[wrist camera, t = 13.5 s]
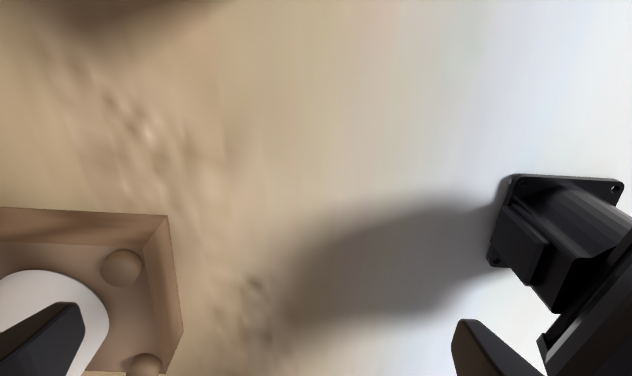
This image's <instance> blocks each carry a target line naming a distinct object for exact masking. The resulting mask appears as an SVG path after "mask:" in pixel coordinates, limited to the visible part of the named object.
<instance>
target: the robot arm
mask: <svg viewBox="0 0 632 376" xmlns="http://www.w3.org/2000/svg"><path fill="white" fill-rule="evenodd" d="M523 180H524V182H523V184H521V185H519V183H520V182H521V181H523ZM613 186H614V188H613V189H611V188H612V187H613ZM623 190H624V184H623V183H622V182H620V181H618V180H616V179H608V178H591V177H573V176H555V175H537V174H518V175H516V176H515V177H514V178H513V179H512V181H511V184H510V187H509V190H508V193H507V196H506V199H505V202H504V205H503V207H502V208H501V210H500V213H499V216H498V219H497V222H496V225H495V228H494V231H493V234H492V237H491V240H490V242H491V245H490V248H489V251H488V254H487V258H486V259H487V262H488V263H489V264H490V265H491V266H492V267H503V268H511V269H512V270H513V272H514V273H515V274H516V275H517V277H518V278H519V279H520V280H521V282H522V283H523V284H524V285H525V286H531V288H532V289H533V290H534V291H535V293H536V294H537V295H538V296H539V298H540V299H541V300H542V301H543V302H544V304H545V305H546V306H547V307H548V309H549V310H550V311H551V312H552V313H554V314H561V315H560V316H559V317H558V318H557V319H556V321H555V322H554V323H553V324H552V326H551V327H550V328H549V329H548V330H547V332H546V333H542V334H541V335H540V337H539V338H538V339H537V340H536V342H537V345H538V348H539V351H540V354H541V357H542V360H543V363H544V366H545V369H546V372H547V375H548V376H632V217H630V216H629V215H627V214H625V213H624V212H622V211H621V210H619V209H617V208H616V207H615V206H616V204H617V202H618V200H619V198H620V196H621V194H622V192H623ZM495 258H497V259H496V260H494V259H495ZM84 336H85V324H84V321H83V317H82V314H81V311H80V307H79V305H78V304H77V303H75V302H62V301H60V302H55V303H53V304H51V305H50V306H48V307H46V308H44V309H42V310H41V311H39V312H37V313H35V314H33V315H32V316H30V317H28V318H26V319H24V320H23V321H21V322H19V323H17V324H15V325H14V326H12V327H10V328H8V329H6V330H5V331H3V332H1V333H0V376H66V374H67V372H68V370H69V368H70V366H71V364H72V362H73V360H74V358H75V356H76V354H77V351H78V349H79V347H80V345H81V343H82V341H83V339H84ZM451 352H452V357H453V361H454V365H455V369H456V373H457V376H544V375H543V374H541V373H540V372H539V371H538V370H537V369H535V368H534V367H533V366H532V365H531V364H530V363H528V362H527V361H526V360H525V359H524V358H522V357H521V356H520V355H519V354H518V353H517V352H515V351H514V350H513V349H512V348H511V347H509V346H508V345H507V344H506V343H505V342H504V341H502V340H501V339H500V338H499V337H498V336H496V335H495V334H494V333H493V332H492V331H491V330H489V329H488V328H487V327H486V326H485V325H483V324H482V323H481V322H480V321H478V320H475V319H460V320H459V321H458V324H457V327H456V330H455V333H454V336H453V339H452V343H451Z"/></svg>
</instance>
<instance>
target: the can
mask: <svg viewBox="0 0 632 376" xmlns="http://www.w3.org/2000/svg"><path fill="white" fill-rule="evenodd" d="M60 301H62V302H75V303H77V304H78V305H79V307H80V311H81V314H82V317H83V321H84V324H85V336H84V339H83V341H82V343H81V345H80V347H79V349H78V351H77V354H76V356H75V358H74V360H73V362H72V364H71V366H70V368H69V370H68V372H67V374H66V376H81V374H82V373H83V371H84V370H85V368H86V367H87V365H88V364H89V362H90V361H91V359H92V358H93V356H94V355H95V353H96V352H97V350H98V349H99V347H100V345H101V344H102V342H103V341H104V339H105V337H106V335H107V333H108V330H109V318H108V314H107V310H106V307H105V305H104V303H103V302H102V300H101V299H100V297H99V296H98V295H97V294H96V293H95V292H94V291H93V290H92V289H91V288H90V287H89V286H87V285H86V284H84V283H83V282H81V281H80V280H78V279H76V278H74V277H72V276H69V275H67V274H64V273H60V272H56V271H51V270H25V271H19V272H16V273H13V274H10V275H8V276H6V277H4V278H3V279H1V280H0V333H1V332H3V331H5V330H6V329H8V328H10V327H12V326H14V325H15V324H17V323H19V322H21V321H23V320H24V319H26V318H28V317H30V316H32V315H33V314H35V313H37V312H39V311H41V310H42V309H44V308H46V307H48V306H50V305H51V304H53V303H55V302H60Z"/></svg>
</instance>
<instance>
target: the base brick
mask: <svg viewBox="0 0 632 376" xmlns="http://www.w3.org/2000/svg"><path fill="white" fill-rule="evenodd" d="M25 270H51V271H56V272H60V273H64V274H67V275H69V276H72V277H74V278H76V279H78V280H80V281H81V282H83V283H84V284H86V285H87V286H89V287H90V288H91V289H92V290H93V291H94V292H95V293H96V294H97V295H98V296H99V297H100V299H101V300H102V302H103V303H104V305H105V307H106V310H107V314H108V318H109V330H108V333H107V335H106V337H105V339H104V341H103V342H102V344H101V345H100V347H99V349H98V350H97V352H96V353H95V355H94V356H93V358H92V359H91V361H90V362H89V364H88V365H87V367H86V368H85V370H84V371H107V372H126V376H158V374H166V371H167V369H168V367H169V364H170V362H171V360H172V357H173V355H174V353H175V350H176V348H177V346H178V343H179V341H180V339H181V336H182V334H183V332H184V331H183V324H182V317H181V310H180V303H179V295H178V288H177V281H176V274H175V267H174V259H173V252H172V245H171V238H170V231H169V223H168V216H161V215H142V214H123V213H104V212H84V211H65V210H46V209H27V208H7V207H0V280H1V279H3V278H4V277H6V276H8V275H10V274H13V273H16V272H19V271H25Z"/></svg>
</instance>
